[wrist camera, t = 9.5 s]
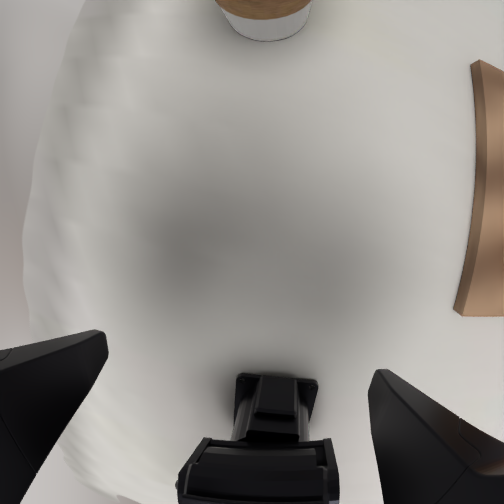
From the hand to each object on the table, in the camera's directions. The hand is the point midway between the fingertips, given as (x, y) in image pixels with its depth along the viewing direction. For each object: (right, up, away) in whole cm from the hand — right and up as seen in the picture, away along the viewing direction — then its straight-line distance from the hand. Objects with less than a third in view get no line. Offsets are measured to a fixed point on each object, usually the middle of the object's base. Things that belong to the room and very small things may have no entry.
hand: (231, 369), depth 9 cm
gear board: (+24, +8, +8) cm, 26 cm away
